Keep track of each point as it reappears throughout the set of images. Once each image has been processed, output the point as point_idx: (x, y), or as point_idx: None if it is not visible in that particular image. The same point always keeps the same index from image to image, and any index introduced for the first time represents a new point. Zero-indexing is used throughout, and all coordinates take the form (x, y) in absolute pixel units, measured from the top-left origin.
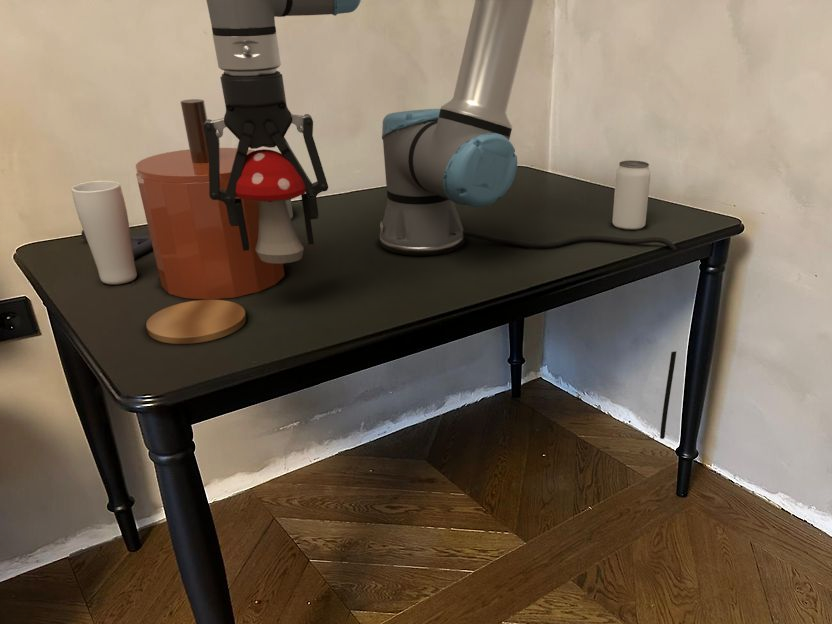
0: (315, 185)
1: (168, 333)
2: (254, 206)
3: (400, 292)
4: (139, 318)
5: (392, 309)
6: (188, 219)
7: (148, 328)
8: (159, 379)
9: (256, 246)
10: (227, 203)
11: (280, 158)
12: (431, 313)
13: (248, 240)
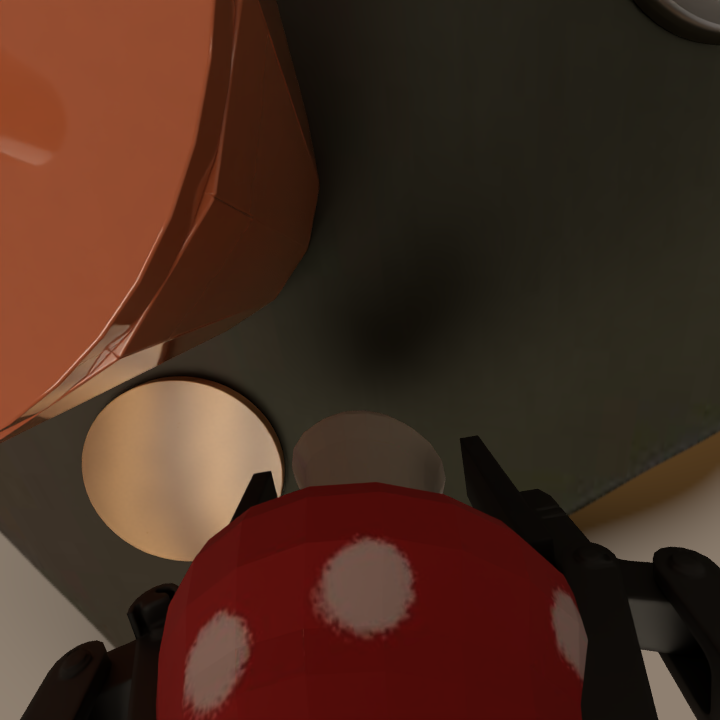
0: (645, 647)
1: (154, 544)
2: (231, 278)
3: (613, 328)
4: (51, 431)
5: (585, 424)
6: None
7: (104, 520)
8: None
9: (298, 483)
10: None
11: None
12: (662, 449)
13: (268, 478)
